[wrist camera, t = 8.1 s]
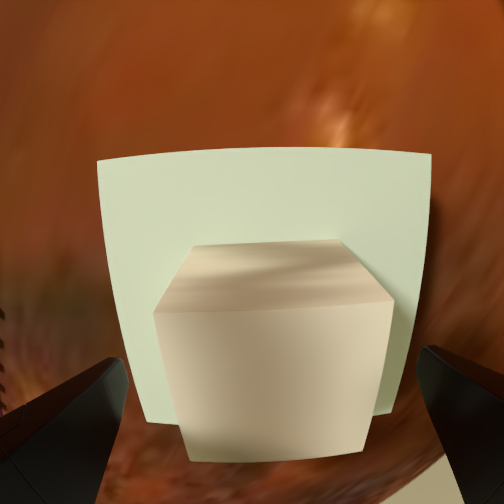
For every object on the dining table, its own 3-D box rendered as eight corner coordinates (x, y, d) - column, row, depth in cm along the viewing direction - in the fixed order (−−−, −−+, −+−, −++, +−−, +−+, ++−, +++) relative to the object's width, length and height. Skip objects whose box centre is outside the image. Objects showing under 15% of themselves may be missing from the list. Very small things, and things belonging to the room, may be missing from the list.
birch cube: (338, 239, 11) (394, 300, 6) (331, 358, 13) (362, 451, 8) (193, 245, 11) (152, 312, 6) (208, 364, 13) (190, 460, 8)
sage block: (389, 153, 14) (431, 154, 10) (369, 367, 17) (390, 412, 14) (134, 158, 14) (97, 160, 10) (164, 374, 18) (146, 421, 14)
